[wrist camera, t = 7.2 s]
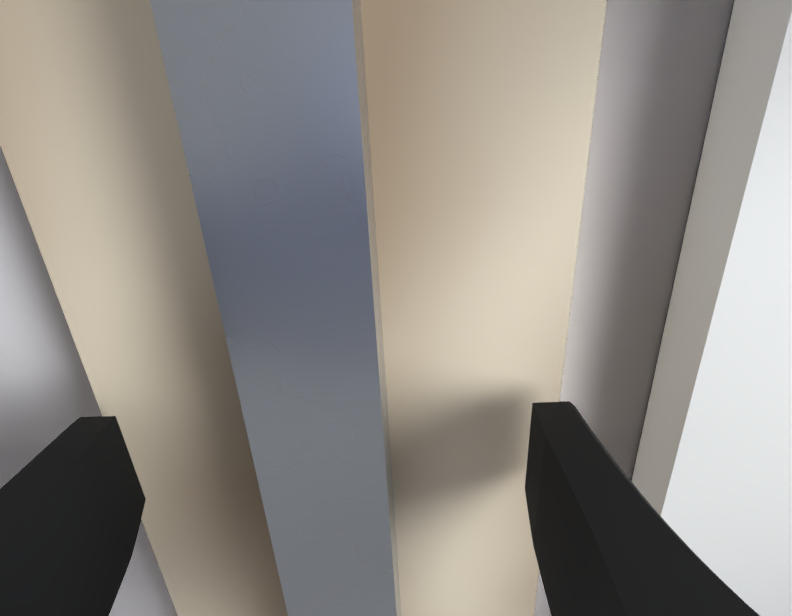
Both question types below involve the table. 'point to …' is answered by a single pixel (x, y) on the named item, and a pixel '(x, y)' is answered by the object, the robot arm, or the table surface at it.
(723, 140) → the bracket stand
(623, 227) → the table surface
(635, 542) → the robot arm
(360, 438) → the steel rail
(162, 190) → the beech board
